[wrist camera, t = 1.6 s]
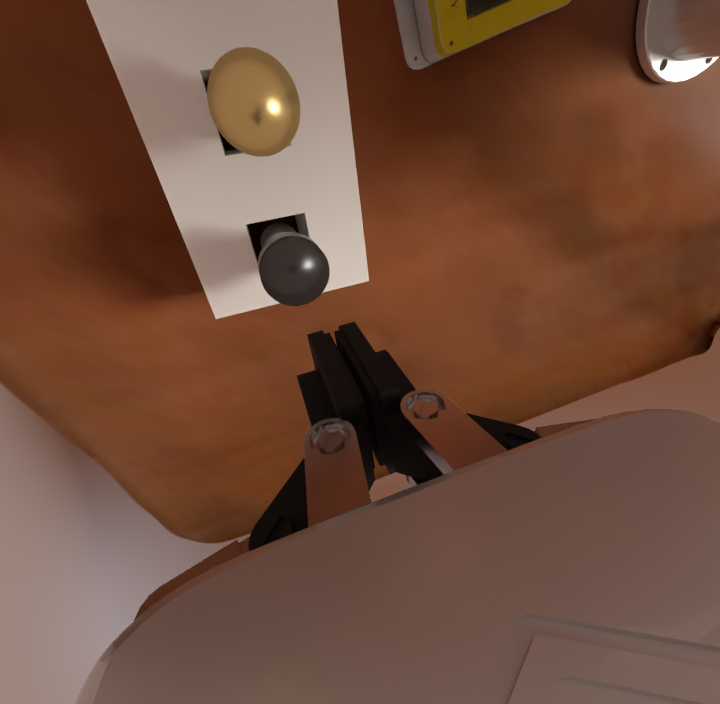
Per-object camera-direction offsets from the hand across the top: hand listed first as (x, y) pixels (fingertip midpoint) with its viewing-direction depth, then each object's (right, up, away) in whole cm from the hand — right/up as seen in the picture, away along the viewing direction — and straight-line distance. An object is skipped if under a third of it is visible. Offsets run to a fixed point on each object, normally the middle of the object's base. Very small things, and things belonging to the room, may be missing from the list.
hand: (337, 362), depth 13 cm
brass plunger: (-6, +15, +9) cm, 18 cm away
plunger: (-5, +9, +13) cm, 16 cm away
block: (-7, +17, +12) cm, 23 cm away
